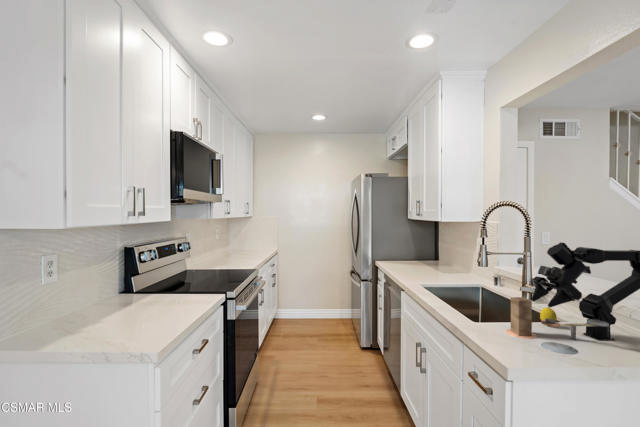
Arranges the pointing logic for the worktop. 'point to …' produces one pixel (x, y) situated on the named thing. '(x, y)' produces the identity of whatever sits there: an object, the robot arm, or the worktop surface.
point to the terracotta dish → (521, 336)
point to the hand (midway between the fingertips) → (540, 303)
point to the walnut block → (521, 316)
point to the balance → (574, 325)
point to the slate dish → (559, 348)
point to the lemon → (548, 314)
